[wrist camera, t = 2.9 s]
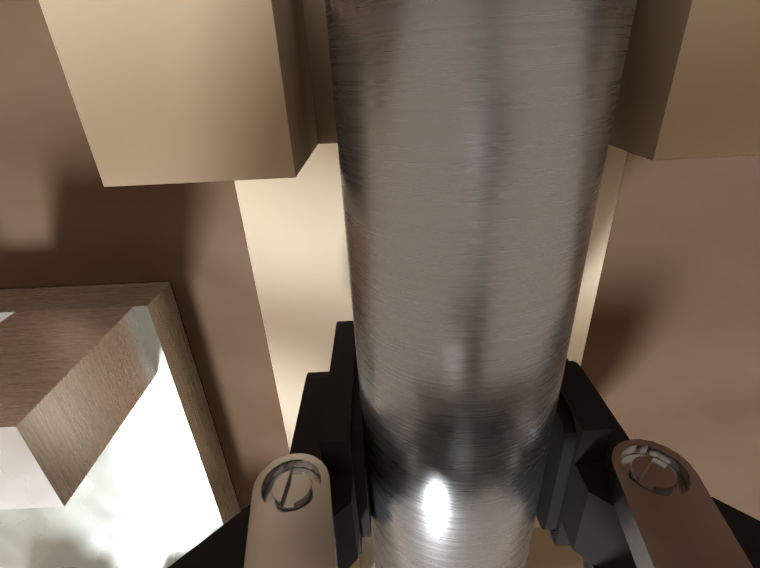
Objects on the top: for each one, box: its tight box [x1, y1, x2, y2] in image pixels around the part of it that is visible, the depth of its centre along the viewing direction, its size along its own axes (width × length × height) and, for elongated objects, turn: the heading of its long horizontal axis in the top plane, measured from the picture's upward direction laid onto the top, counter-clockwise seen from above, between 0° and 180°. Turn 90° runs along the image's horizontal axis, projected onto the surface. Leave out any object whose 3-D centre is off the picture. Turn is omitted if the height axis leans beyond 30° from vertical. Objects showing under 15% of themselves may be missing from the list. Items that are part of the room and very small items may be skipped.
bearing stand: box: [39, 0, 760, 568], centre depth 11 cm, size 16×10×6 cm, turn 3°
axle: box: [325, 0, 637, 568], centre depth 9 cm, size 19×4×4 cm, turn 3°
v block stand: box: [0, 282, 241, 568], centre depth 15 cm, size 16×10×6 cm, turn 3°
